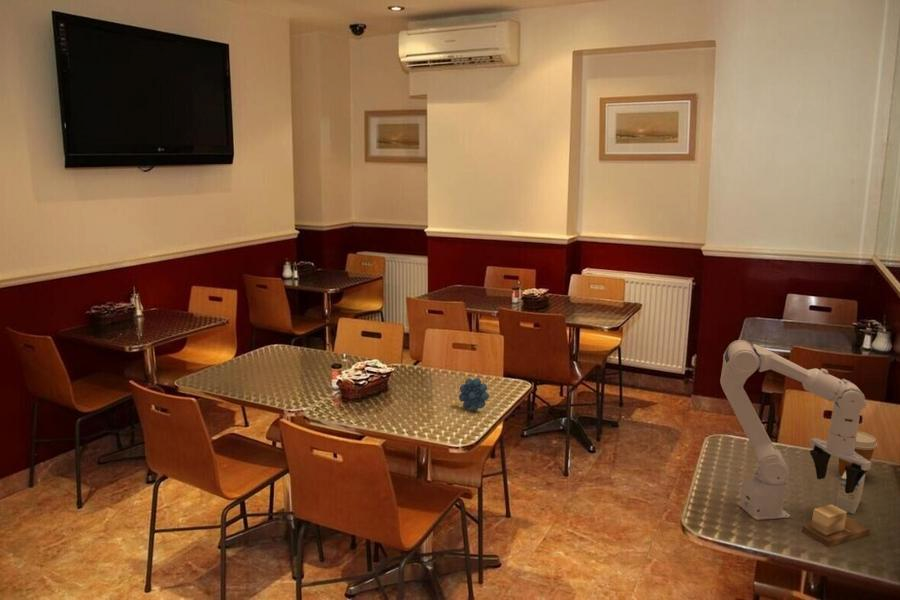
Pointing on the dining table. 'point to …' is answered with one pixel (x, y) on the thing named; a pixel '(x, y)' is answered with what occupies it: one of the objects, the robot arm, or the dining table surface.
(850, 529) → the walnut board
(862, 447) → the disposable coffee cup
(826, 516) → the sanding block
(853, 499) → the medicine box
